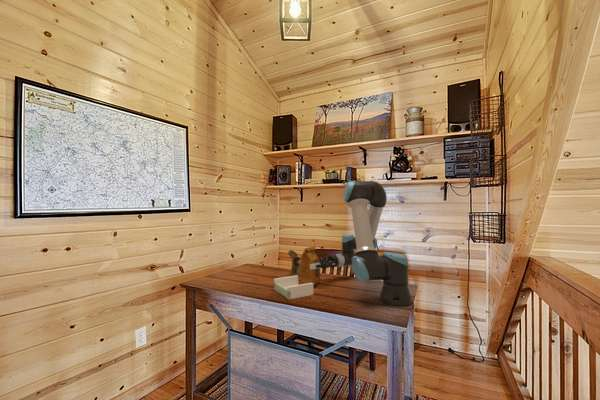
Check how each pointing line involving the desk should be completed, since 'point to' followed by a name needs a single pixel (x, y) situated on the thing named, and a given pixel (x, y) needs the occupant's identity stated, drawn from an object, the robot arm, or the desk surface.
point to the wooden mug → (295, 263)
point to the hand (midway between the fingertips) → (304, 264)
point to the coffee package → (305, 271)
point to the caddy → (292, 287)
